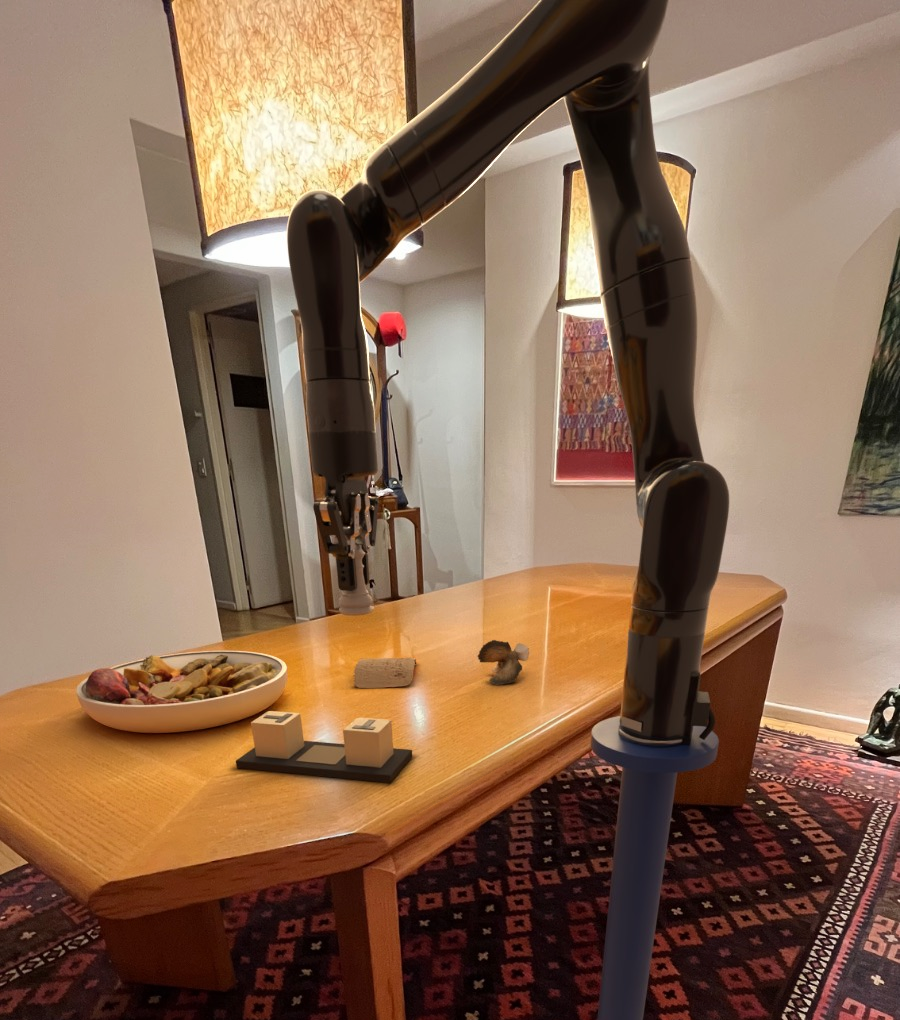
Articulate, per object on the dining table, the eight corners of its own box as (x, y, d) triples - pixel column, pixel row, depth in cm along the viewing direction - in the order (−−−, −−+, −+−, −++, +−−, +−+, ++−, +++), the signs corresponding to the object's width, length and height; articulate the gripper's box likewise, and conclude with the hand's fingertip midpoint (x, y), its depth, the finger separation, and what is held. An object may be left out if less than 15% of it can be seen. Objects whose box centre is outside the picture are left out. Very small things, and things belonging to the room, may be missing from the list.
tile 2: (393, 753, 82) (391, 718, 80) (380, 767, 79) (378, 731, 77) (360, 750, 84) (357, 716, 82) (346, 764, 80) (342, 728, 78)
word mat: (412, 756, 84) (412, 748, 84) (390, 783, 77) (390, 774, 77) (269, 744, 89) (268, 736, 88) (236, 768, 82) (235, 759, 82)
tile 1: (304, 746, 85) (300, 712, 83) (288, 759, 82) (283, 724, 80) (273, 743, 87) (268, 709, 85) (256, 756, 83) (250, 721, 81)
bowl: (232, 669, 123) (225, 625, 120) (328, 703, 104) (322, 652, 100) (56, 708, 105) (42, 658, 101) (133, 759, 85) (117, 700, 82)
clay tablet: (363, 665, 124) (362, 650, 123) (418, 664, 124) (417, 649, 122) (352, 688, 111) (350, 672, 110) (413, 687, 111) (412, 671, 109)
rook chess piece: (352, 608, 88) (347, 542, 84) (381, 610, 86) (376, 544, 82) (331, 614, 84) (324, 546, 81) (360, 617, 82) (355, 548, 79)
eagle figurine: (482, 661, 119) (466, 665, 111) (505, 628, 117) (491, 629, 108) (515, 688, 119) (502, 693, 110) (540, 655, 116) (528, 658, 108)
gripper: (346, 425, 69) (360, 598, 77) (395, 430, 81) (402, 579, 89) (281, 428, 71) (300, 596, 79) (338, 432, 83) (350, 578, 91)
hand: (354, 586), depth 84 cm, fingers closed on rook chess piece, 3 cm apart
